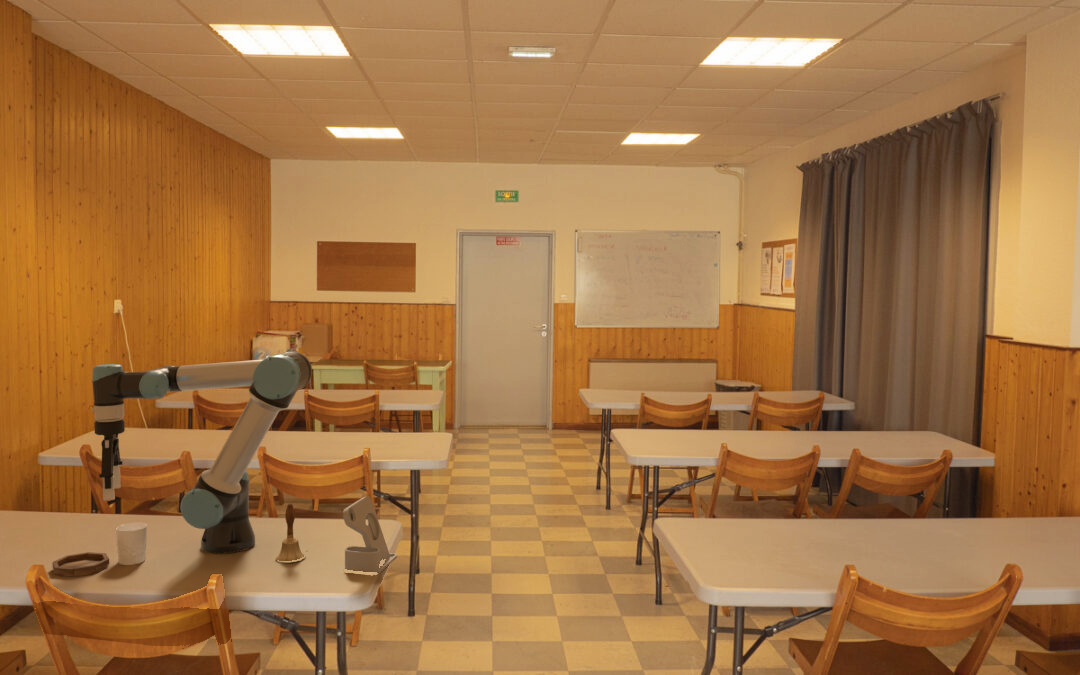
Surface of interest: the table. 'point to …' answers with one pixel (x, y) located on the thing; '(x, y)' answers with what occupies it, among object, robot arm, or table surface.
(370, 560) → the phone holder
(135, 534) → the white cup
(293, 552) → the hand bell
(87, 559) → the coaster ring
